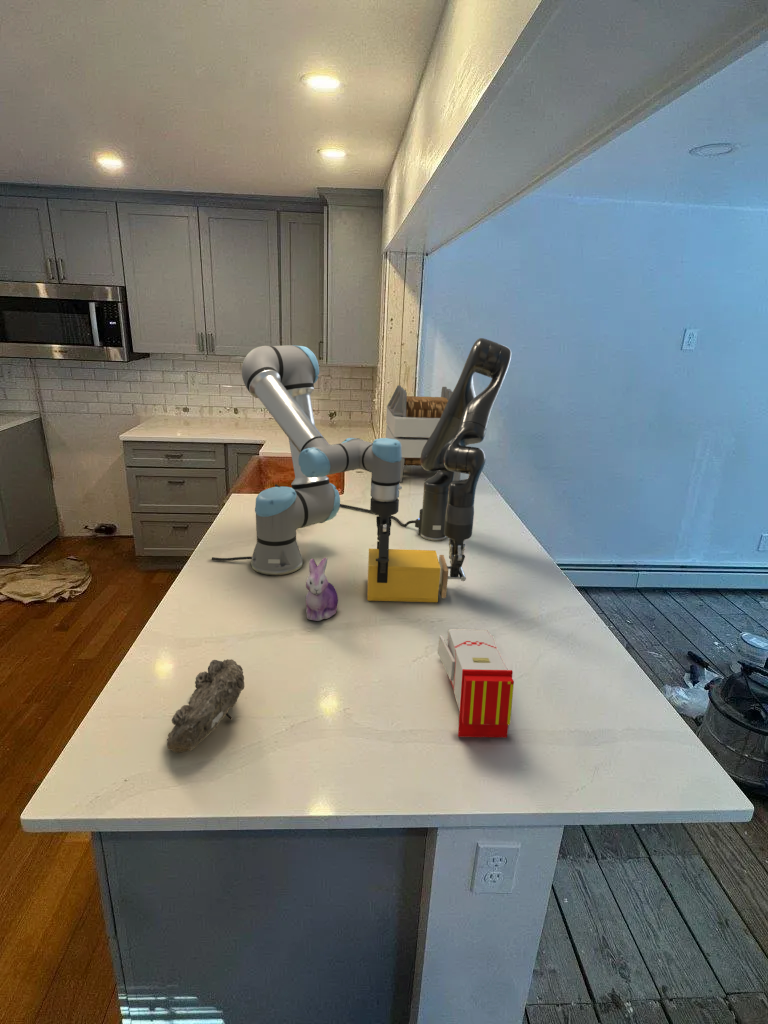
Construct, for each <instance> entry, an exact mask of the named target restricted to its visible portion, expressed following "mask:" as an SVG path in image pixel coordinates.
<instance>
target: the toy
mask: <svg viewBox="0 0 768 1024" xmlns="http://www.w3.org/2000/svg"><path fill="white" fill-rule="evenodd" d="M446 640H447V643H446V641H445V639H444V636H443V635H442V634H439V637H438V646H437V656H438V657H439V659H440V661H441V663H442V666H443V668H444V670H445V672H446V674H447V677H448V679H449V681H450V684H451V687H452V690H453V693H454V697H455V701H456V705H457V708H458V711H459V714H458V715H459V716H458V730H457V731H458V732H457V737H458V738H508V731H509V726H510V725H511V717H512V707H513V697H514V696H513V695H514V684H515V680H514V679H513V673H514V671H513V670H512V669H508V667H507V665H506V662H505V661H504V659H503V658H502V655H501V653H500V651H499V649H498V647H497V643H496V639H495V637H494V635H493V634H491V632H490V631H489V629H467V628H466V629H465V628H463V629H461V628H460V629H459V628H448V630H447V639H446Z"/></svg>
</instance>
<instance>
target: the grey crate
mask: <svg viewBox="0 0 768 1024" xmlns="http://www.w3.org/2000/svg"><path fill="white" fill-rule="evenodd" d="M452 392H453V390H452V389H451V388H447V386H442V387H441V392H440V393H441V394H440V396H415V395H414V396H413V395H412V396H411V395H407V394H408V393H407V390H406V389H404V388H403V387H402V385H399V384H398V385H397V386H396V388H395V390H394V392H393V394H392V395H391V398H390V400H389V402H388V404H387V405H386V413H385V414H386V415H385V423H386V428H385V438H389V439H396V440H398V441H399V442H400V443H401V455H402V459H401V470H400V483H402V482H403V475H404V469H405V466H406V467H407V466H411V467H412V466H413V467H415V466H416V467H417V466H418V467H422V466H421V462H420V457H421V452H422V449H423V447H424V445H425V444H426V442H427V440H428V439H429V437H430V436H431V434H432V433H433V431H434V429H435V427H436V425H437V424H438V422H439V420H440V418H441V415H442V413H443V411H444V408H445V406H446V404H447V402H448V400H449V398H450V396H451V394H452ZM452 441H453V440H451V441H450V442H449V443H451V442H452ZM461 474H462V473H458V472H454V478H453V481H455V480H461Z"/></svg>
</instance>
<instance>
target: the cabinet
mask: <svg viewBox="0 0 768 1024" xmlns="http://www.w3.org/2000/svg"><path fill="white" fill-rule="evenodd" d="M367 556H368V557H367V558H368V559H367V562H368V563H367V591H366V592H367V596H366V597H367V598H366V599H367V601H370V602H371V601H374V602H404V603H405V602H407V603H438V601H439V592H440V590H439V580H440V569H441V568H440V564H439V557H438V554H437V550H433V549H432V550H431V549H430V550H429V549H401V548H396V549H395V548H389V557H388V558H389V562H388V577H387V583H377V570H378V561H376V559H378V558H379V549H377V548H368V555H367Z"/></svg>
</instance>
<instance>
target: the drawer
mask: <svg viewBox="0 0 768 1024" xmlns="http://www.w3.org/2000/svg"><path fill="white" fill-rule="evenodd" d="M438 561H439V564H440V568H441V569H440V580H439V593H440V597H441V599H447V590H448V582H449V581H448V580H460V581H461V582H465V581H467V577H466V574H465V571H464V569H463V566H462V567H459V576H458V577H457V576H450V575H449V570H450V567H451V565H447V561H446V558H445V555H444V554H439V557H438Z"/></svg>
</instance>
